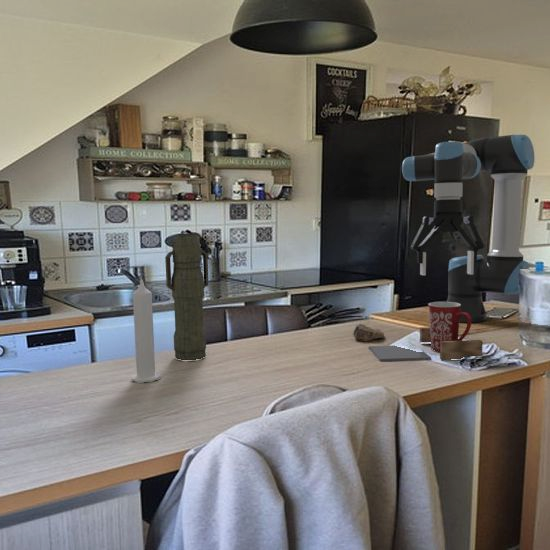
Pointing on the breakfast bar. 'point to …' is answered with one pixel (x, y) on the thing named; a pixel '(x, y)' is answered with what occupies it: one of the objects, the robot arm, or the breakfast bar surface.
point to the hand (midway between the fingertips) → (446, 274)
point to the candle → (144, 336)
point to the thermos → (188, 295)
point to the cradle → (454, 346)
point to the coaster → (397, 353)
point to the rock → (367, 333)
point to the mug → (446, 323)
